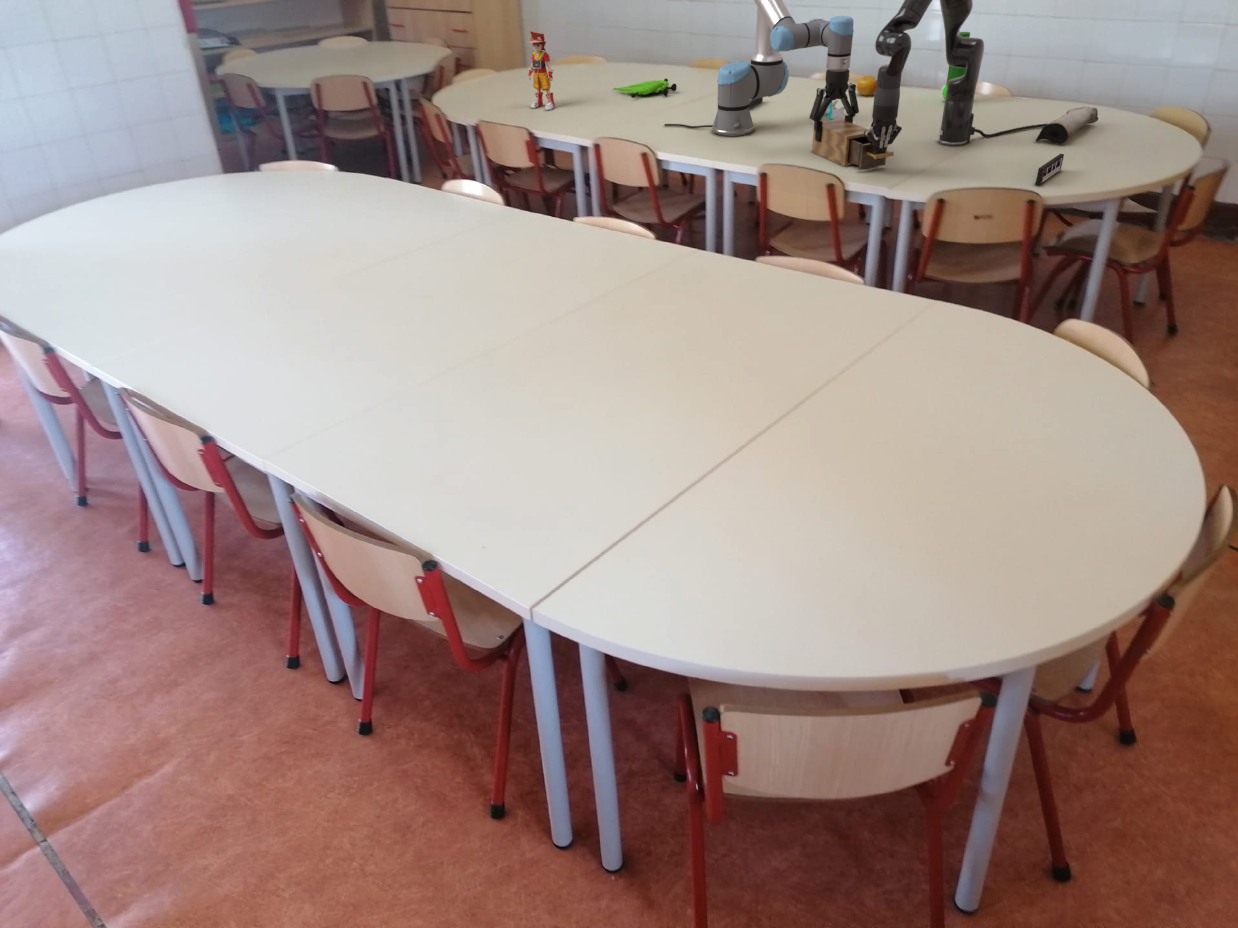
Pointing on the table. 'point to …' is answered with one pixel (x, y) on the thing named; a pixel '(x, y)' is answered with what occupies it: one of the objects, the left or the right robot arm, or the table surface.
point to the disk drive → (754, 102)
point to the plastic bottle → (954, 71)
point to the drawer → (865, 153)
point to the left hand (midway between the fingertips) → (832, 138)
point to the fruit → (866, 85)
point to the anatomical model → (834, 111)
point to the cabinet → (837, 140)
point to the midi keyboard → (1049, 169)
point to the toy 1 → (541, 71)
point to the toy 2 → (648, 88)
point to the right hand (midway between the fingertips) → (879, 159)
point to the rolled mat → (1068, 125)
